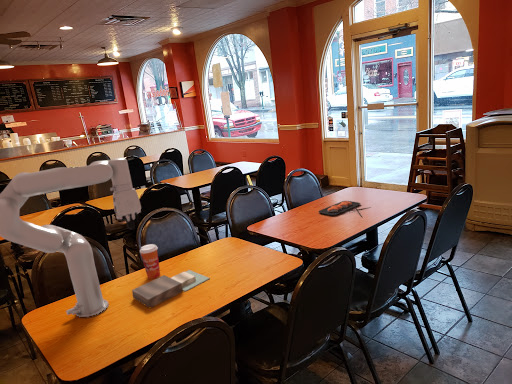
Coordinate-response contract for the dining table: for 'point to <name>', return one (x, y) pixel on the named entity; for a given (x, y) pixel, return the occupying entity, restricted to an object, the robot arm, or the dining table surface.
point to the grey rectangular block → (157, 291)
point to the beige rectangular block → (184, 278)
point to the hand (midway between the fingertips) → (131, 228)
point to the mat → (198, 280)
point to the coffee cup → (150, 260)
